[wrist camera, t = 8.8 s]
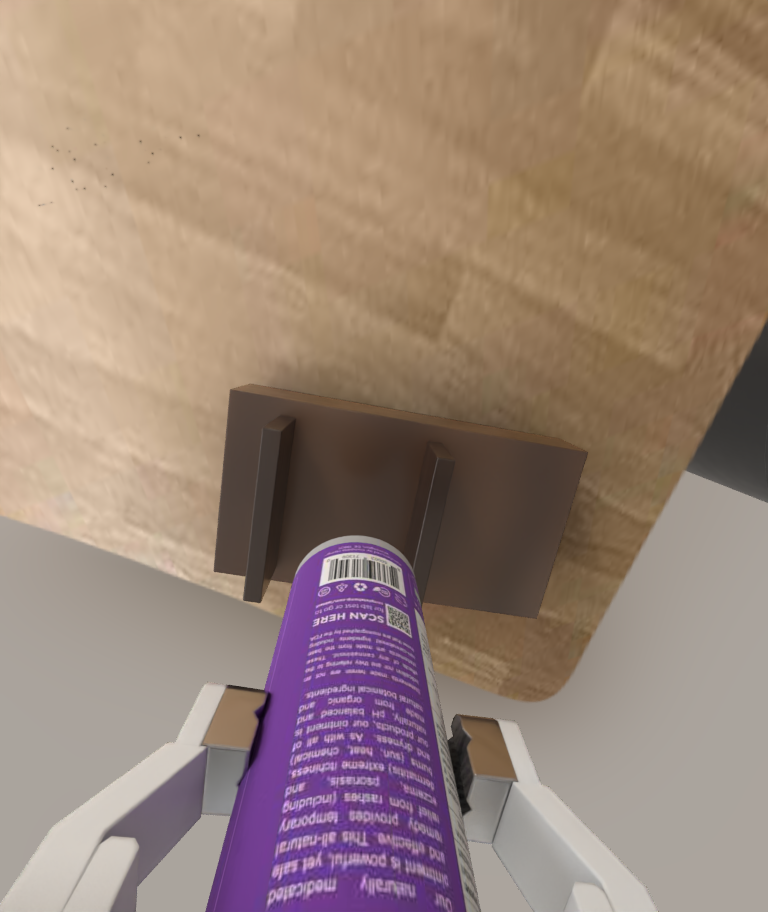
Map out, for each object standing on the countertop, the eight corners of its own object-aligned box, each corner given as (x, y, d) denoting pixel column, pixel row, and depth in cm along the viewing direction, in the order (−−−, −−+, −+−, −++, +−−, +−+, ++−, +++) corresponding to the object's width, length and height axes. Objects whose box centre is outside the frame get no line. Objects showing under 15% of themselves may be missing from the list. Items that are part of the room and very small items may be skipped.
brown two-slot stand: (560, 438, 30) (626, 470, 22) (517, 587, 33) (562, 661, 25) (249, 383, 28) (202, 396, 21) (233, 544, 31) (186, 608, 23)
